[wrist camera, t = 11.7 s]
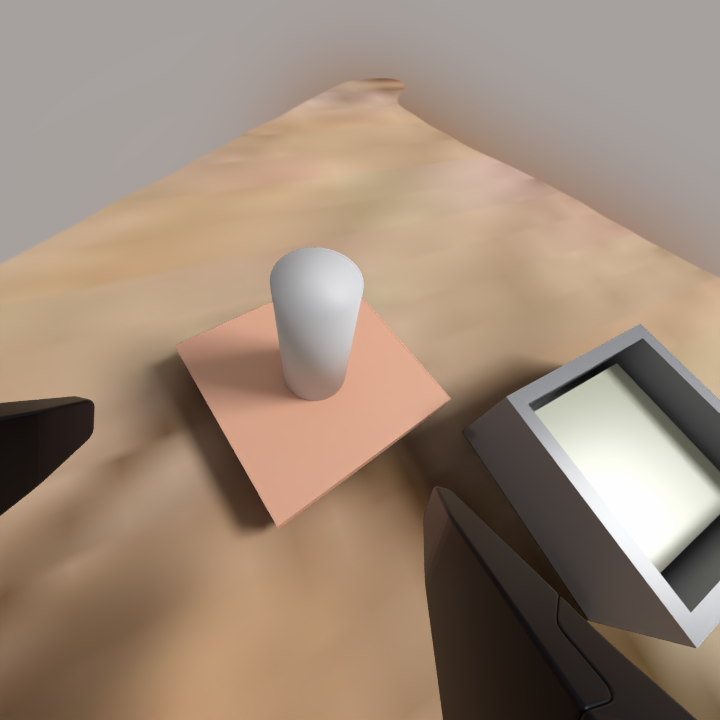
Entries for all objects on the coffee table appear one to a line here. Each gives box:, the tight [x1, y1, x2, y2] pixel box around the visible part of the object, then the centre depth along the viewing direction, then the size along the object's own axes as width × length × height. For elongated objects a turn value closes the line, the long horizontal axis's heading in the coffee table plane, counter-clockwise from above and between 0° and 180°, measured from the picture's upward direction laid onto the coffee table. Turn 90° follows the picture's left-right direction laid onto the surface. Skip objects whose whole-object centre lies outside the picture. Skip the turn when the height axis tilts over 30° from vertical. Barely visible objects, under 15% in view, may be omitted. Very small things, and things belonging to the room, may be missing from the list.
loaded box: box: [463, 324, 720, 648], centre depth 17 cm, size 10×10×5 cm
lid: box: [175, 247, 451, 529], centre depth 16 cm, size 10×10×9 cm
